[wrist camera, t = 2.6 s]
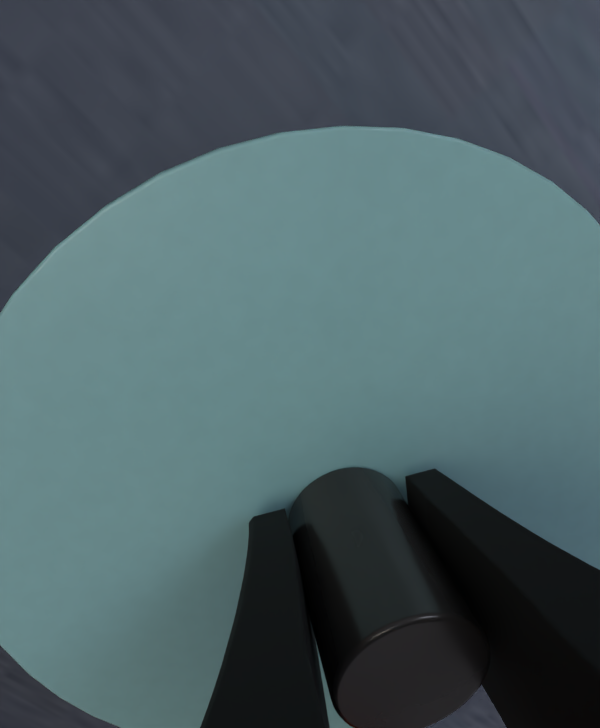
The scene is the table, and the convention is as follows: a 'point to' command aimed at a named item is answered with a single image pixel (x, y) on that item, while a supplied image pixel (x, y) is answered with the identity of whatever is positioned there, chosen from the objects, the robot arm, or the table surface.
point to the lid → (291, 414)
